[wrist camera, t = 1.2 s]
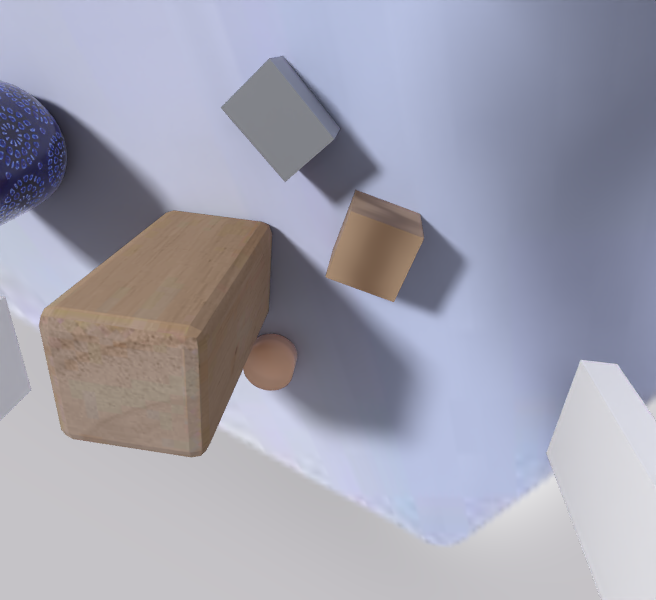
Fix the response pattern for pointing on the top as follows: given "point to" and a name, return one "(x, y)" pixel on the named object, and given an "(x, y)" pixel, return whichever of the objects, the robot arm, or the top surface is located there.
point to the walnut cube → (375, 246)
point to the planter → (27, 153)
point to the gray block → (281, 117)
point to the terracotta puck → (271, 362)
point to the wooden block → (160, 333)
